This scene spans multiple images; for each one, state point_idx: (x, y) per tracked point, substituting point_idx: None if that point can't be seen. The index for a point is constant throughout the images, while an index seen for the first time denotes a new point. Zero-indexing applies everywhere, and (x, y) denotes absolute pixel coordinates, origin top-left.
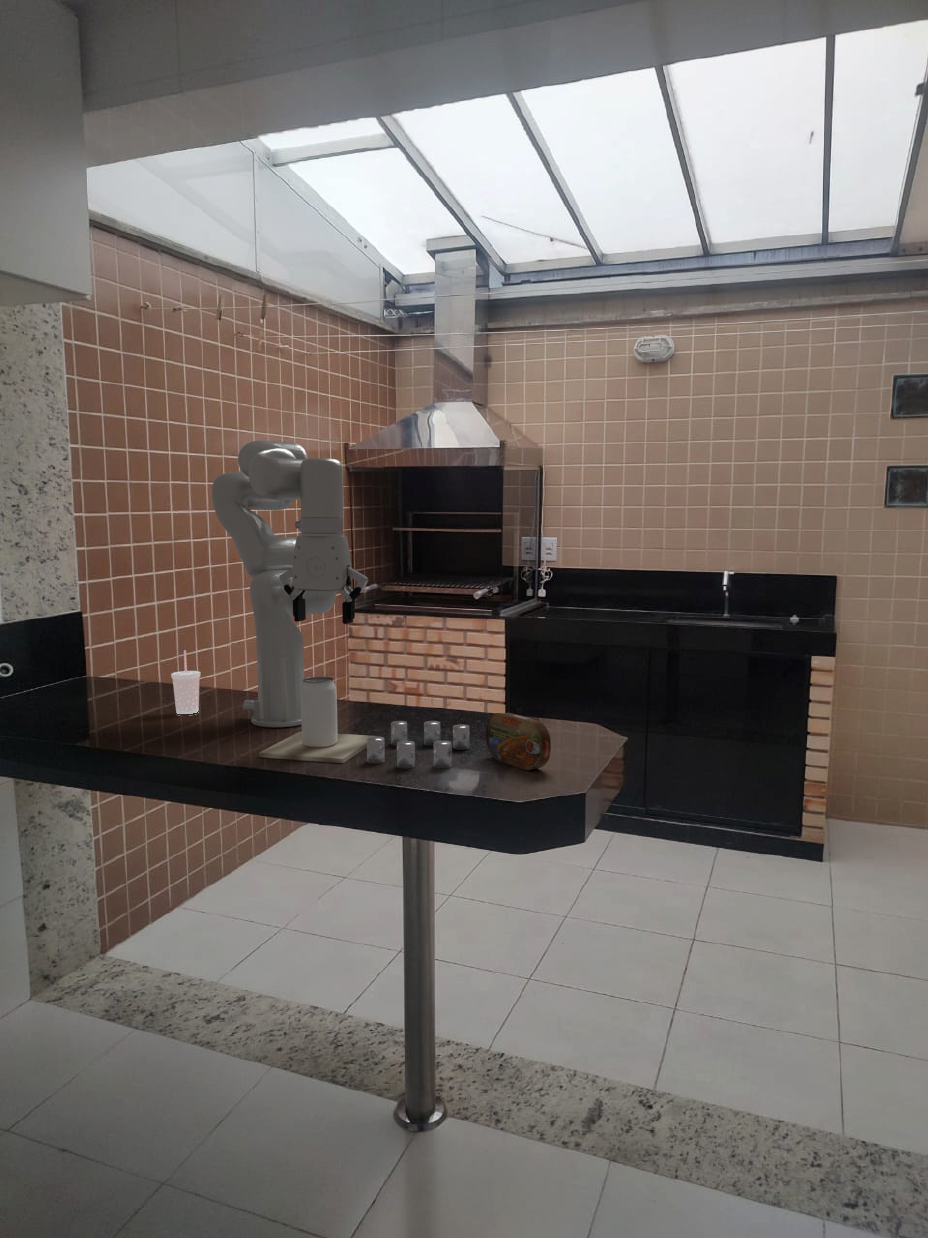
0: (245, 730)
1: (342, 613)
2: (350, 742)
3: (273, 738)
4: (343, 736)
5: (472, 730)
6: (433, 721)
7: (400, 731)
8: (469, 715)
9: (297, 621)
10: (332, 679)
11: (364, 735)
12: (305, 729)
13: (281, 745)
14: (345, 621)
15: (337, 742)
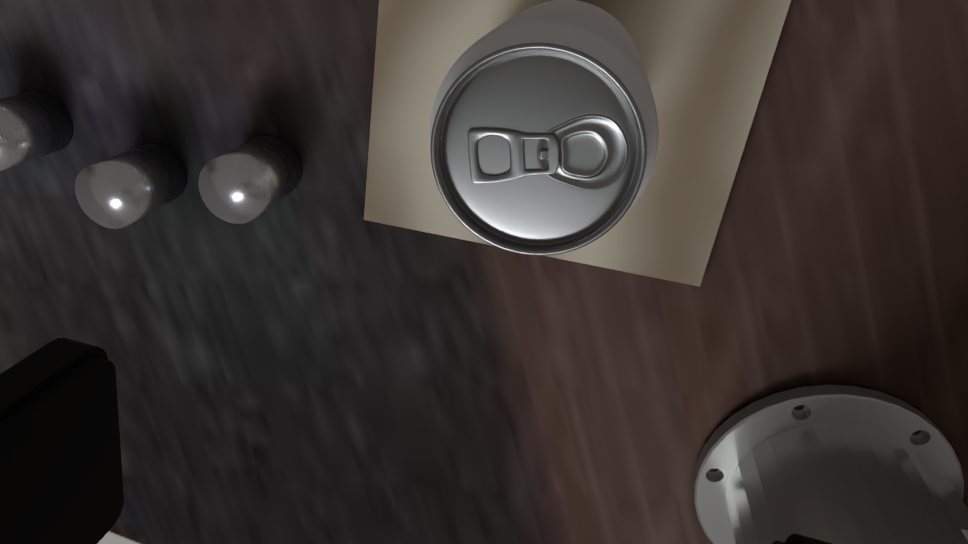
0: (964, 355)
1: (1, 431)
2: None
3: (809, 231)
4: None
5: None
6: (109, 218)
7: (229, 151)
8: (173, 524)
9: (788, 537)
10: (451, 198)
11: (414, 227)
12: (611, 19)
13: (736, 41)
14: (46, 346)
15: None
